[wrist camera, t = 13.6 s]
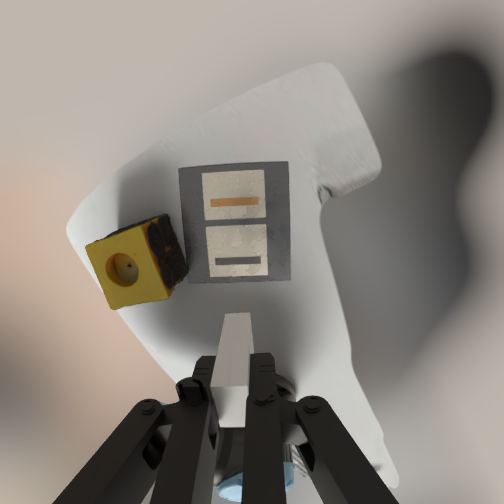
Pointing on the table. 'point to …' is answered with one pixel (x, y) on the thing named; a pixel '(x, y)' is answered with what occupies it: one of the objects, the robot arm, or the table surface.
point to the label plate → (236, 222)
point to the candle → (138, 263)
